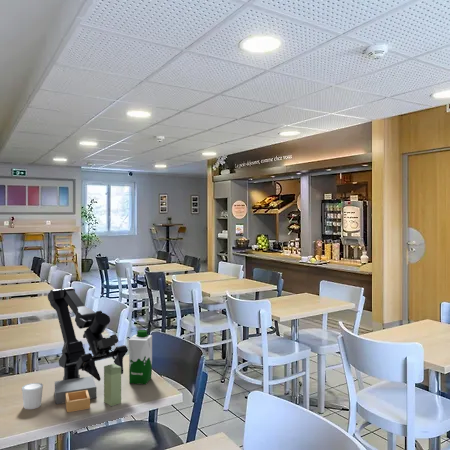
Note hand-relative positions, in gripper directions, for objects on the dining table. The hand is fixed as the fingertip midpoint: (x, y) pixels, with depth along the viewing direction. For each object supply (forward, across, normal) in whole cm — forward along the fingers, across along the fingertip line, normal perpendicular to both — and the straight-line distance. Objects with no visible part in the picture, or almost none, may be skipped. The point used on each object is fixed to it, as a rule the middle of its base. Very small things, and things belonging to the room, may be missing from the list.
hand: (111, 376), depth 155 cm
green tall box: (+7, 0, +6) cm, 9 cm away
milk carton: (0, +19, +13) cm, 23 cm away
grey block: (-2, -8, +14) cm, 16 cm away
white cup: (-6, -21, +18) cm, 29 cm away
